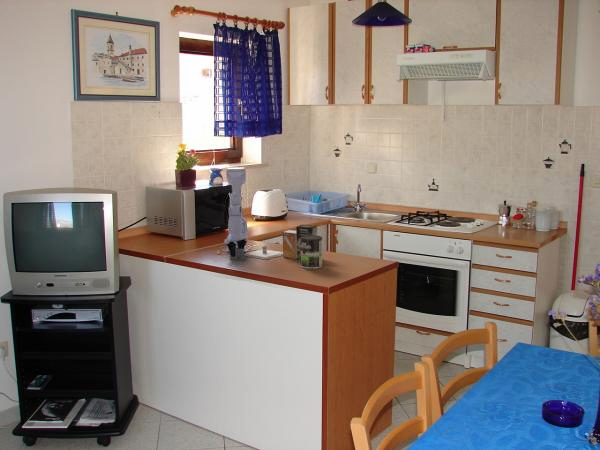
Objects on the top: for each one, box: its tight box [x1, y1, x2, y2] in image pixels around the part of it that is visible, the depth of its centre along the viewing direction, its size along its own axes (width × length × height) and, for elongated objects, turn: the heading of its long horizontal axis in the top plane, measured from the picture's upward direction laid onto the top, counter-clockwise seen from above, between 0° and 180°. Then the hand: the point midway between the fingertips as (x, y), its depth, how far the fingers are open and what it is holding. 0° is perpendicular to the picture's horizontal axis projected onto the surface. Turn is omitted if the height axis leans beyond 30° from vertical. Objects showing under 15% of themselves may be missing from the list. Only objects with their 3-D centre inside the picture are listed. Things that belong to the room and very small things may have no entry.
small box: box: [282, 229, 298, 260], centre depth 347 cm, size 8×6×13 cm
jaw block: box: [229, 248, 247, 261], centre depth 345 cm, size 8×5×5 cm, turn 50°
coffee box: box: [295, 224, 318, 259], centre depth 344 cm, size 9×6×16 cm
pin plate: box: [244, 245, 283, 260], centre depth 352 cm, size 14×14×5 cm
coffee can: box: [300, 235, 323, 270], centre depth 326 cm, size 10×10×14 cm
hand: (236, 255), depth 346 cm, fingers closed on jaw block, 5 cm apart
